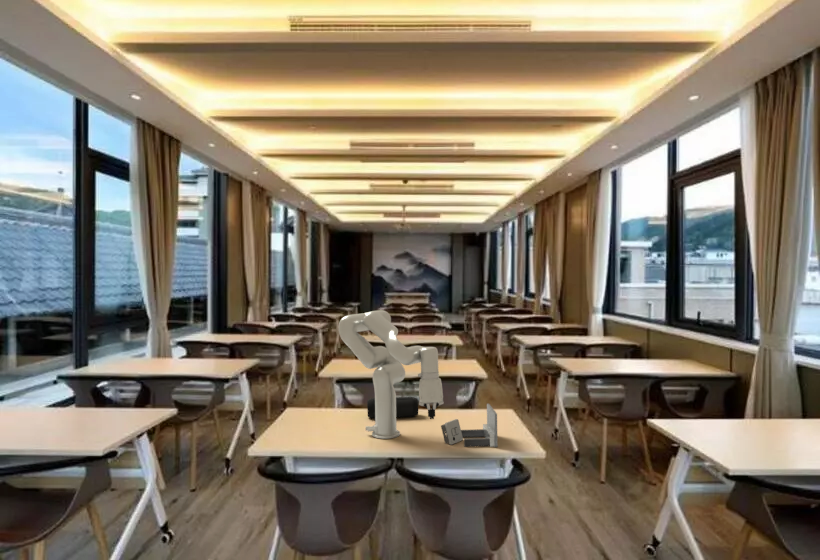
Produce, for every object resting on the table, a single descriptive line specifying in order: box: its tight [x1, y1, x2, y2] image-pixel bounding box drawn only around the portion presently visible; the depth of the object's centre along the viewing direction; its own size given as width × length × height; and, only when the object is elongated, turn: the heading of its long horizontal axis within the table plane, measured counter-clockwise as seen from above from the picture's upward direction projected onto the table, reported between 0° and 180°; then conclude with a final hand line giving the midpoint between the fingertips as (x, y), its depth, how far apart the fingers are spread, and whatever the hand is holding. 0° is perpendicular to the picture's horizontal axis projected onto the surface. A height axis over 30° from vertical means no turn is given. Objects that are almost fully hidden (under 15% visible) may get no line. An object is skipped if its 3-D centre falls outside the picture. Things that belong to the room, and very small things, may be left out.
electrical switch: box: [440, 418, 464, 446], centre depth 244 cm, size 9×5×9 cm, turn 141°
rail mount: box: [461, 403, 498, 448], centre depth 244 cm, size 14×19×14 cm
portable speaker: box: [366, 396, 419, 419], centre depth 288 cm, size 26×10×10 cm, turn 95°
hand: (431, 418), depth 243 cm, fingers closed
